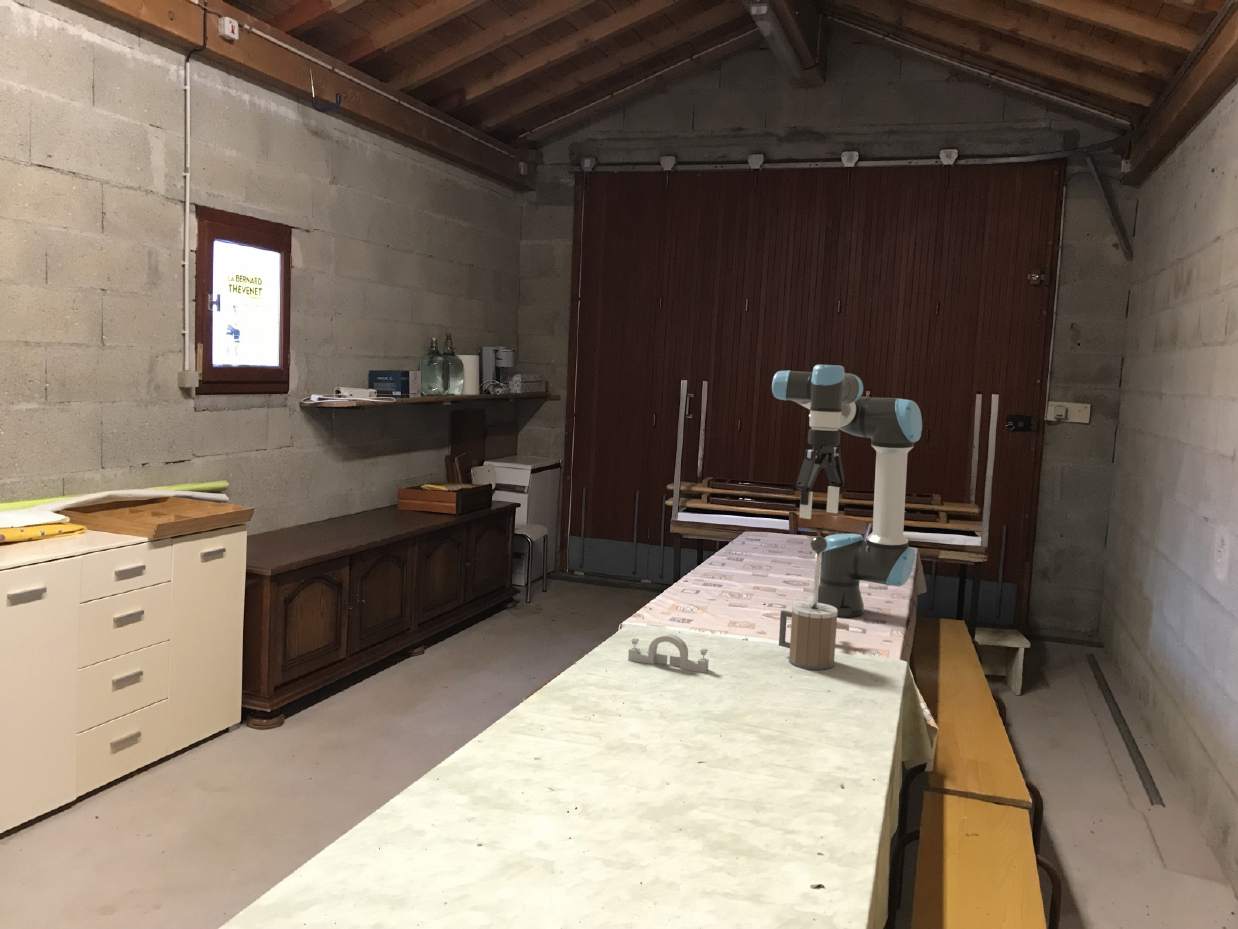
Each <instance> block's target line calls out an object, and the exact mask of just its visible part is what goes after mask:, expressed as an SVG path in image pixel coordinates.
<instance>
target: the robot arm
mask: <svg viewBox="0 0 1238 929" xmlns="http://www.w3.org/2000/svg"><path fill="white" fill-rule="evenodd" d="M771 383H772V384H771V391H772V396H773V397H774V398H776V399H777V400H782V401H791V402H795V403H797V404H798V405H800V406H802V407H803V408H806V409H808V410H809V415H808V417H809V427H810V428H809V429H808V436H807V437H808V438H807V443H808V444H809V445H812V449H805V450H804V457H803V462H802V464H801V468H800V471H799V473H798V474H799V475H798V477H797V481H796V484H795V488H796V491H800V501H799V502H800V503H799V519H806V520H811V519H812V510H813V509H812V507H813V494H814V493H813V492H814V491H811V490H812V489H813V487H814V484H815V482H816V480H817V477H818V475H819V473H820V472H821V470H823V469H824V471H825V474H826V477H827V479H828V483H829V485H828V486H827V498H826V499H827V500H826V510H825V511H826V513H831V514H838V512H839V501H840V500H839V499H840V496H839V495H840V488H844V486H845V475H844V474H845V473H844V469H843V462H842V457H841V454H842V453H841V452H842V451H841V447H838V446H839V445H840V443H841V442H840V441H841V440H840V439H841V431H842V432H844V433H847V434H850V435H852V436H856V437H859V438H860V437H861V438H868V439H870V440H871V441H870V442H871V444H870V445H871V447H872V448H873V449H874V450H875V451H876V453H875V454H876V456H875V476H874V494H873V495H874V496H873V497H874V498H873V514H872V532H871V533H869V535H868V536H867V537H866V541H865V540H864V537H863V535H862V534H859V533H858V534H857V533H837V534H829V535H827V536H825V537H824V538H825V539H826V541H827V548H826V549H825V550H824V551H823V552H821V557H820V573H819V588H818V603H823V604H827V605H831V606H834V607H835V608H837V611H838V613H837V618H838V617H841V618H853V617H859V616H862V615H864V611H865V610H864V609H865V606H864V604H865V603H864V601H863V597H862V593H861V589H860V581H862V582H863V581H864V582H868V583H873V584H880V585H885V586H887V587H888V586H889V587H890V586H894V587H902V586H903V585H905V584H906V583H907V582H908V580H909V578H910V577H911V574H912V572H913V568H914V564H915V559H916V554H915V549H914V548H912V547H910V546H909V539H908V538H907V536H905V534H904V528H905V526H904V525H905V524H904V523H905V508H906V507H905V506H906V504H905V503H906V491H907V490H906V488H907V486H906V485H907V468H908V467H907V466H908V454H909V452H910V451H911V450H912V449H913V448H914V445H915V443H916V442H918V441H919V440H920V439H921V436H922V431H923V418H922V412H921V410H920V407H919V405H918V404H917V403H916V402H915V401H914V400H911V399H904V398H895V397H893V398H891V397H873V396H872V397H871V396H862V395H863V392H864V384H863V381H862V379H861V378H860V377H858V375H856V374H853V373H850V372H849V373H847V372H845V367H844V366H842V365H836V364H835V365H832V364H816V365H814V367H813V369H812V371H801V370H800V371H798V370H796V371H795V370H790V369H789V370H779V371H776V373H774V376H773V378H772V382H771Z"/></svg>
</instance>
